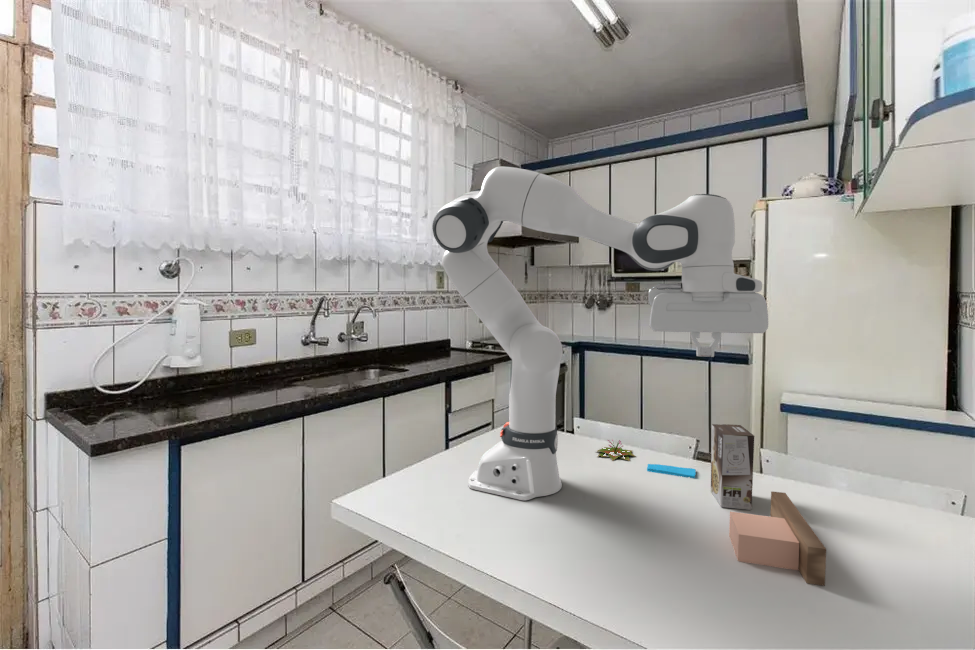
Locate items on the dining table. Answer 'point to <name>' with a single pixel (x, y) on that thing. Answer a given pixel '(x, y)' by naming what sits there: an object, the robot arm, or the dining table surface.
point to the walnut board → (802, 539)
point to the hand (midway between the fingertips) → (705, 356)
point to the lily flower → (615, 452)
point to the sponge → (672, 470)
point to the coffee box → (732, 466)
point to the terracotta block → (763, 540)
